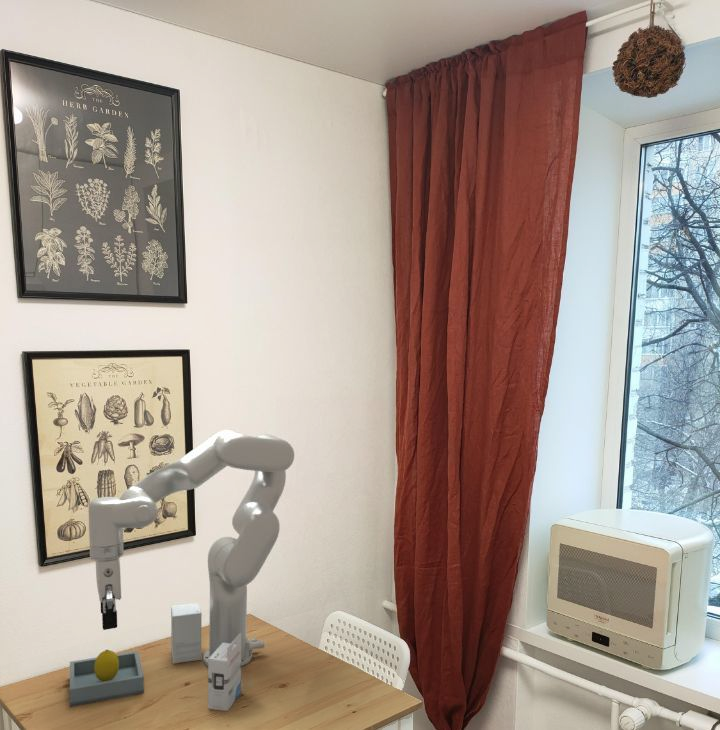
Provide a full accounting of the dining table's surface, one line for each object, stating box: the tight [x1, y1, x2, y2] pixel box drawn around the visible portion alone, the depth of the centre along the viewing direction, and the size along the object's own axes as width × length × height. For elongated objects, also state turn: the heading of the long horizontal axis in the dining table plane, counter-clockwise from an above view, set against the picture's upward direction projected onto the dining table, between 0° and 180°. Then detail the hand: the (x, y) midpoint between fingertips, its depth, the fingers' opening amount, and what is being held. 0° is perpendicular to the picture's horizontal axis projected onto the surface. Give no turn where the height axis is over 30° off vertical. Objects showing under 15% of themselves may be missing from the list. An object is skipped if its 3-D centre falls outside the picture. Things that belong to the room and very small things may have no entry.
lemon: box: [94, 649, 119, 681], centre depth 162 cm, size 6×6×8 cm
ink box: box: [207, 633, 242, 712], centre depth 156 cm, size 9×5×15 cm, turn 168°
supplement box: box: [170, 602, 203, 664], centre depth 178 cm, size 7×7×13 cm
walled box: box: [69, 650, 145, 708], centre depth 162 cm, size 16×14×4 cm
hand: (108, 620), depth 162 cm, fingers open, 9 cm apart
